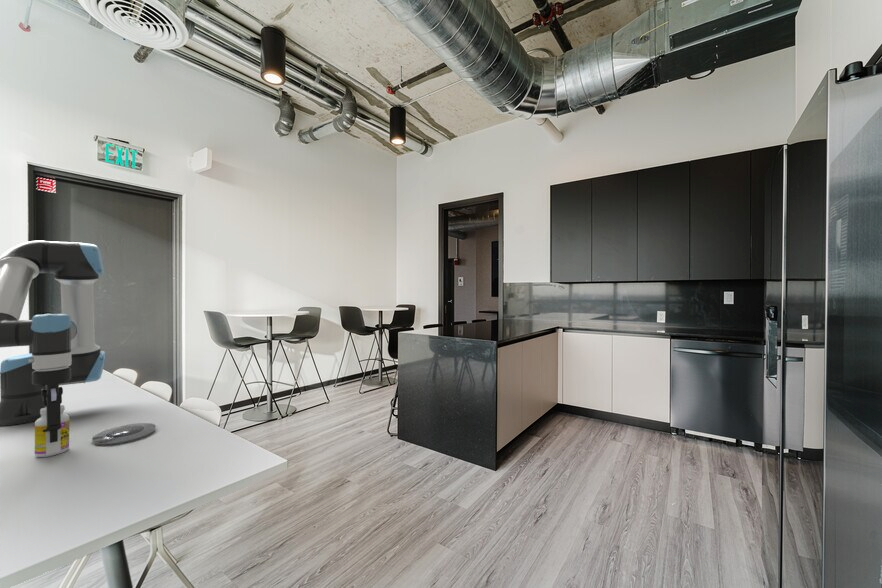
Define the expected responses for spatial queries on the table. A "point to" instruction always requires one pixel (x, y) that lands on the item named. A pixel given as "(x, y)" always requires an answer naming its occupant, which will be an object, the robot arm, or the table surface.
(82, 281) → the robot arm
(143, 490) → the table surface
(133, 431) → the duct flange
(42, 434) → the supplement bottle
